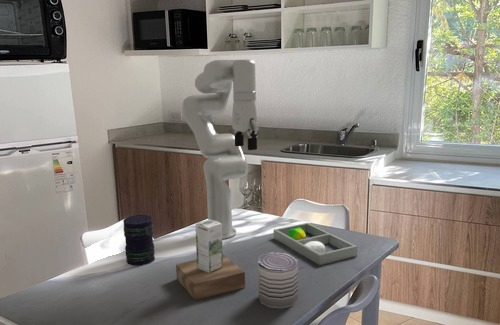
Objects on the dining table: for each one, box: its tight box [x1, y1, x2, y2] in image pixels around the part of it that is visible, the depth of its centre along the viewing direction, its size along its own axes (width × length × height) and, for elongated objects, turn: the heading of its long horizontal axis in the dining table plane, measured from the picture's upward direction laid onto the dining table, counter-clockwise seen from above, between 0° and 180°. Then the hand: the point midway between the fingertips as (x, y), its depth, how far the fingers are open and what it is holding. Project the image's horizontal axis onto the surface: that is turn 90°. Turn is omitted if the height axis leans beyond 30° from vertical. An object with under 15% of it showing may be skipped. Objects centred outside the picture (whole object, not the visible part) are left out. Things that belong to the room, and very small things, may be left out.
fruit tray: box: [273, 222, 358, 266], centre depth 169 cm, size 30×16×4 cm, turn 28°
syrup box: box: [195, 219, 223, 273], centre depth 139 cm, size 6×6×14 cm
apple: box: [288, 227, 307, 240], centre depth 172 cm, size 7×6×9 cm
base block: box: [175, 253, 246, 301], centre depth 141 cm, size 16×16×5 cm
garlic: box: [305, 241, 326, 254], centre depth 164 cm, size 8×7×4 cm
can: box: [257, 251, 299, 310], centre depth 130 cm, size 11×11×12 cm
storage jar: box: [122, 214, 156, 267], centre depth 159 cm, size 10×10×15 cm
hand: (245, 147), depth 157 cm, fingers open, 9 cm apart
